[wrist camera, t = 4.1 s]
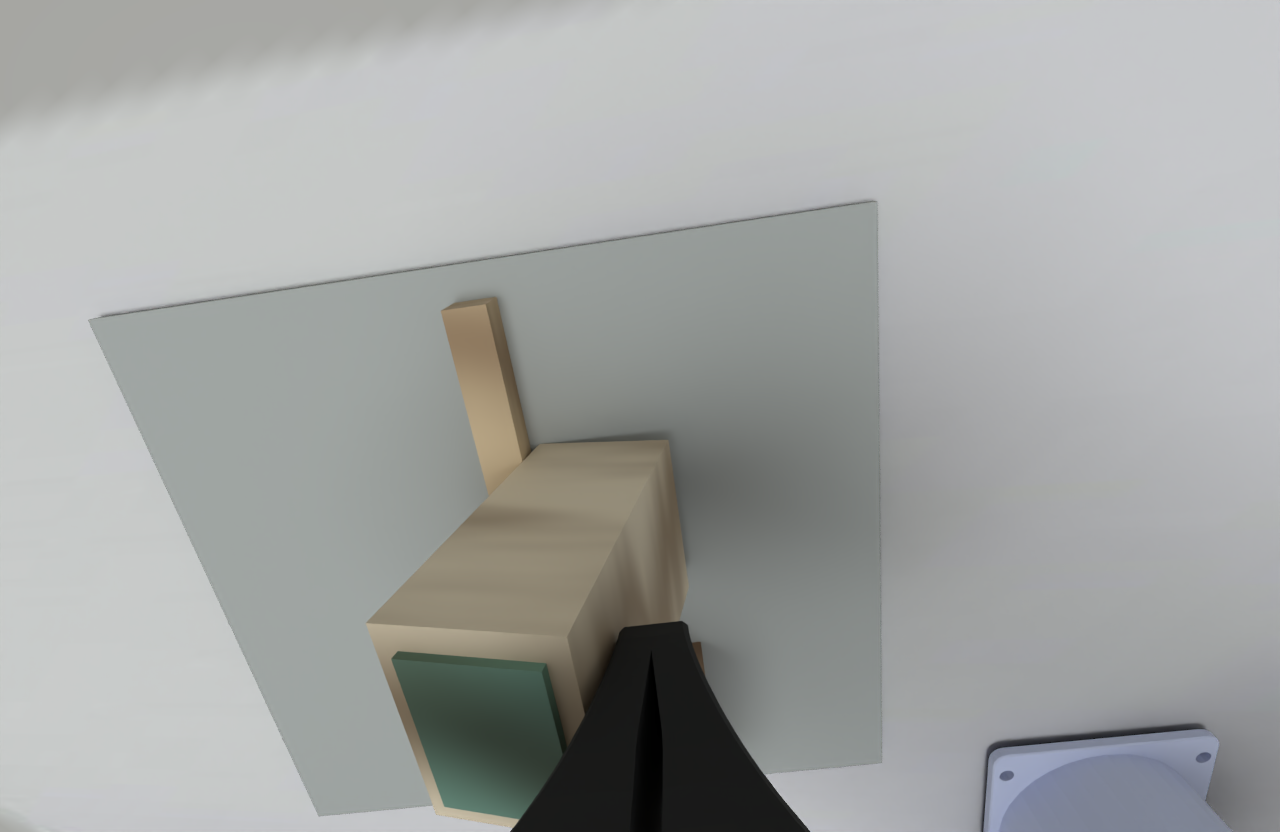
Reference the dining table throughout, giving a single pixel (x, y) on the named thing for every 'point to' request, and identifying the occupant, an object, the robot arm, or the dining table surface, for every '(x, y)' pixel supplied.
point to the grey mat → (554, 413)
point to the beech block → (529, 618)
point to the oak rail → (487, 386)
